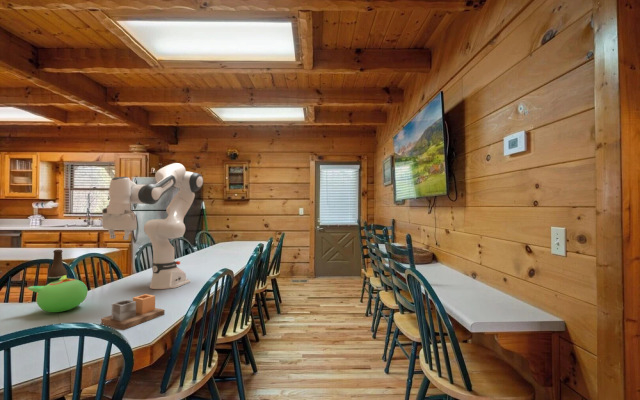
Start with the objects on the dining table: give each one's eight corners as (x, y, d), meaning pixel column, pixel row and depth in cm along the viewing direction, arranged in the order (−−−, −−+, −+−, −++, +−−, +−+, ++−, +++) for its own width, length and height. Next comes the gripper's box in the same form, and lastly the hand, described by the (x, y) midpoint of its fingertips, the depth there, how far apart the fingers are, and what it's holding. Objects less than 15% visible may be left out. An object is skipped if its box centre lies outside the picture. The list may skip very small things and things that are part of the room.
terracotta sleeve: (145, 307, 138) (145, 294, 138) (154, 309, 136) (155, 295, 136) (132, 311, 133) (132, 297, 133) (142, 313, 130) (142, 299, 130)
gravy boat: (56, 319, 128) (57, 283, 128) (24, 315, 132) (24, 281, 132) (95, 305, 146) (96, 274, 146) (66, 302, 149) (67, 272, 149)
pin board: (142, 309, 141) (142, 292, 141) (164, 314, 136) (164, 296, 136) (101, 323, 125) (101, 303, 125) (124, 329, 119) (124, 308, 119)
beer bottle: (44, 300, 152) (45, 251, 153) (50, 295, 159) (51, 249, 160) (63, 298, 155) (64, 250, 156) (69, 294, 163) (70, 248, 163)
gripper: (140, 210, 147) (140, 239, 147) (112, 209, 155) (112, 237, 155) (128, 210, 141) (127, 241, 141) (99, 209, 149) (99, 238, 149)
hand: (119, 239), depth 148 cm, fingers open, 8 cm apart
